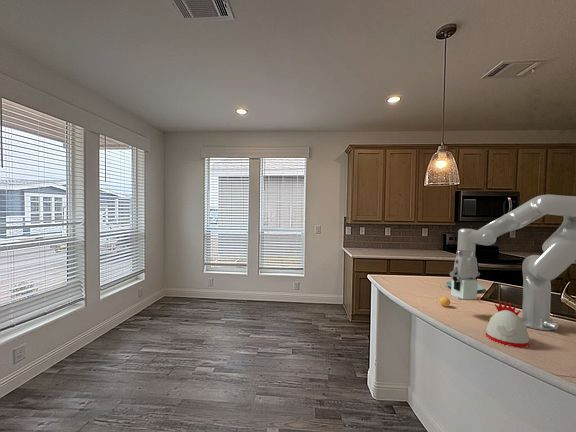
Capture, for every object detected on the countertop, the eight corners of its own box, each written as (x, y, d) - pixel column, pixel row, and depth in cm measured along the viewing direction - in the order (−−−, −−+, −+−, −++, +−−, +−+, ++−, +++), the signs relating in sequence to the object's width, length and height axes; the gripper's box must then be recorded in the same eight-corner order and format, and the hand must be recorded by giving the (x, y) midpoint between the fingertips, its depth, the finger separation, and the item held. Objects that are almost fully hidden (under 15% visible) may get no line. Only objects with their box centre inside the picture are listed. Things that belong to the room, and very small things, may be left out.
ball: (452, 307, 155) (452, 298, 155) (444, 308, 154) (444, 298, 154) (445, 304, 160) (445, 295, 160) (437, 305, 159) (437, 296, 159)
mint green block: (476, 298, 141) (477, 280, 141) (463, 299, 139) (464, 280, 139) (464, 293, 148) (465, 276, 148) (451, 294, 147) (451, 276, 147)
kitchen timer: (487, 329, 127) (488, 295, 126) (529, 338, 118) (530, 301, 118) (484, 340, 116) (485, 302, 116) (529, 351, 107) (530, 310, 107)
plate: (492, 294, 183) (492, 290, 183) (455, 293, 184) (455, 288, 184) (472, 285, 205) (472, 281, 205) (439, 284, 206) (439, 280, 206)
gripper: (456, 255, 138) (454, 292, 138) (487, 255, 141) (485, 291, 142) (444, 252, 145) (443, 287, 146) (474, 252, 149) (472, 287, 149)
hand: (464, 289), depth 144 cm, fingers closed on mint green block, 7 cm apart
